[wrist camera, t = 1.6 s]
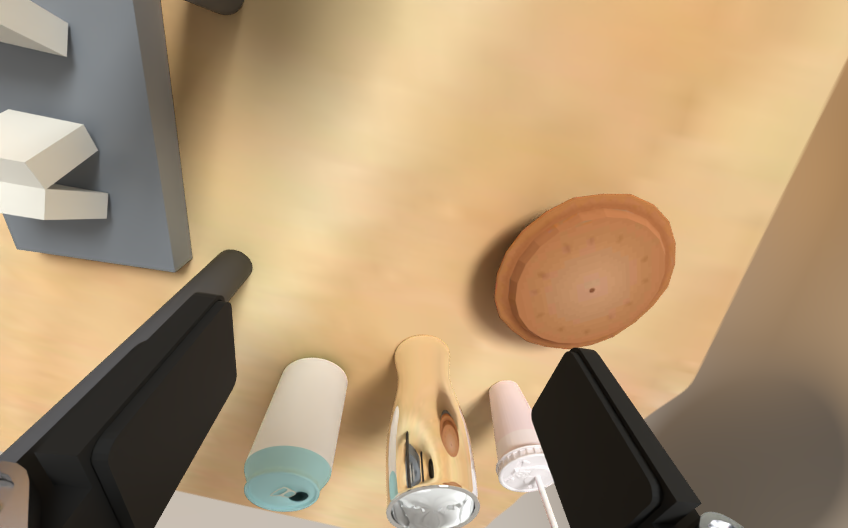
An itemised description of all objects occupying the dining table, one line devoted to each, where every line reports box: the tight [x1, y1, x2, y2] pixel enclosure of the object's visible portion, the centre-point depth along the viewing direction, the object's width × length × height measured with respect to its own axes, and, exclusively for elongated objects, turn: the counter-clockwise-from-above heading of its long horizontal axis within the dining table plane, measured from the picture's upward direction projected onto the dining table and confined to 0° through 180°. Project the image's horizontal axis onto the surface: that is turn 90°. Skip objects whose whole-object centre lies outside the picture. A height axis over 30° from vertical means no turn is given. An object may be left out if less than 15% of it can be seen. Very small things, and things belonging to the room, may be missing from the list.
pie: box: [494, 194, 676, 349], centre depth 29 cm, size 16×16×5 cm
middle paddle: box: [0, 109, 98, 189], centre depth 19 cm, size 2×4×4 cm, turn 77°
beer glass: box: [386, 335, 480, 528], centre depth 29 cm, size 7×7×15 cm
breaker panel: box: [0, 0, 192, 272], centre depth 22 cm, size 20×11×2 cm, turn 167°
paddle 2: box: [0, 182, 108, 220], centre depth 21 cm, size 2×4×4 cm, turn 78°
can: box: [244, 358, 348, 512], centre depth 31 cm, size 7×7×12 cm
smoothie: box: [489, 380, 558, 528], centre depth 33 cm, size 6×6×14 cm
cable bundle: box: [0, 250, 252, 463], centre depth 20 cm, size 3×3×20 cm
